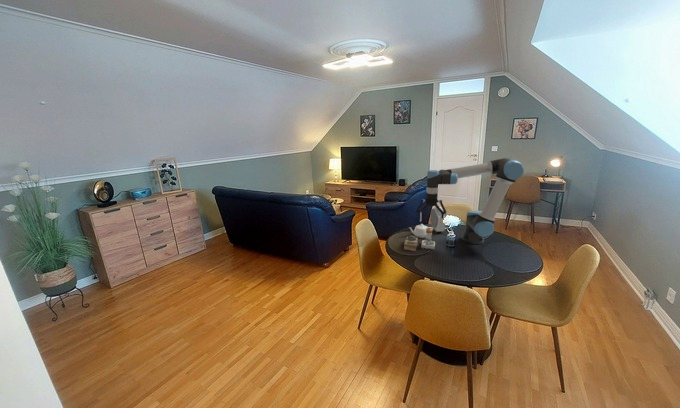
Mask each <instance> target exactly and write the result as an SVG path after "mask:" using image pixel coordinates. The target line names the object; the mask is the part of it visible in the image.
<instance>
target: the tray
mask: <svg viewBox="0 0 680 408" xmlns="http://www.w3.org/2000/svg"><path fill="white" fill-rule="evenodd" d="M421 240H422V239H421ZM435 247H436V241H433V240H432V241H431V246H430V245H426V239H424V240H422V241H421V248H420V249H424V248H425V249H426V250H433V251H435Z"/></svg>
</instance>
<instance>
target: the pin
mask: <svg viewBox="0 0 680 408" xmlns="http://www.w3.org/2000/svg"><path fill="white" fill-rule="evenodd" d="M433 231H434V230H433V229H432V228H426V238H425V240H426V245H430V246H431V241H433V240H432V239H433Z"/></svg>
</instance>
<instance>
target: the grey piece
mask: <svg viewBox="0 0 680 408" xmlns="http://www.w3.org/2000/svg"><path fill="white" fill-rule="evenodd" d="M439 207H440V208H441V210H442V211H443V209H442V207H441V206H439ZM443 212H444V211H443ZM429 216H430V217H429V218H430V219H429V220H430V224H431V227H432V228H433V231H434V232H435V233H437V232H441V233H443V232H445V230H446V225H445V224H444V223H443V220H444V218H445V217H446V216H447V213H446V214H444V215H443V218H442V219H441V223H440V216H441V212H440V211H439V210H438V209H437V208H436V207H435V206H434V208H431V211H430V215H429ZM447 217H448V216H447Z"/></svg>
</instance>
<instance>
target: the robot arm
mask: <svg viewBox="0 0 680 408" xmlns="http://www.w3.org/2000/svg"><path fill="white" fill-rule="evenodd" d="M524 171H525V168H524V166H523V164H522V162H520V161H519V160H516V159H510V158H506V157H505V158H498V159H493V160H488V161H487V162H484V163H478V164H473V165H466V166H460V167H456V168H455V167H454V168H449V169H439V170H437V169H434V170H433V169H432V170H428V171H427V174H426V175H427V176H426V191H425V192H426V194H425V199H424V198H421V199H420V203H419V205H418V206H417V208H416V210H415V211H416V213H418V218H419V223H421V222H422V215H423V214H422V213H423V210H424V209H426V208H427V207H434V208H435V207H436V208H437V209H438V210H439V211H440V212H441V216H440V223H441V219H442V218H443V215H444V214H446V215H447V210H446V207H445V206H444V204H443V203H444V202H443V199H438V193H439V185H456V184H457V183H458V180H459V179H461V178H470V177H474V176H475V177H476V176H481V175H487V174H488V175H491V176H492V175H496V176H495V178H496V181H495V183H494V185H493V187H492V189H491V191H490V194H489V195H488V198H487V199H486V202H485V204H484V206H483V208H482V210H481V211H480V210H469V211H467V213H466V219H465V228H464V231H463V233H462V236H461V240H462V241H463V242H464V243H467V244H470V245H472V244H473V245H481V244H483V243H485V238H484V237H488V236H491V235H492V234H494V231H495V226H494V224H495V221H496V218H495V217H496V215H497V212H498V211H499V208H500V206H501V205H502V202H503V201H504V199H505V197H506V194H507V193H508V191H509V188H510V186H511V185H513V184H515V183H516V180H518V179H520V178H521V177H522V176H523V174H524V173H525V172H524ZM423 203H425V204H424V205H423ZM438 203H439V204H440V206H439V205H438ZM422 205H423V206H422ZM440 207H441V208H442V209H443V211H444V212H443V211H442V210H441V208H440Z"/></svg>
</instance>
